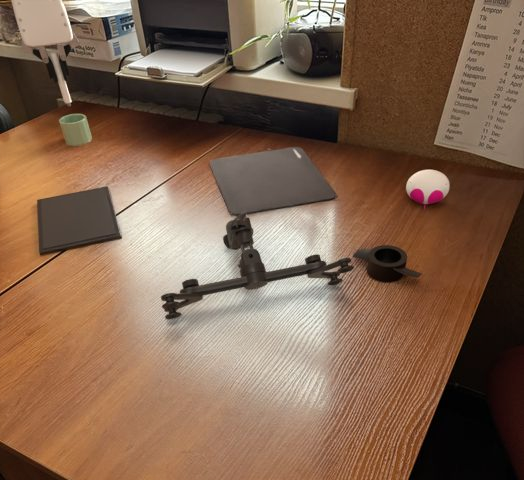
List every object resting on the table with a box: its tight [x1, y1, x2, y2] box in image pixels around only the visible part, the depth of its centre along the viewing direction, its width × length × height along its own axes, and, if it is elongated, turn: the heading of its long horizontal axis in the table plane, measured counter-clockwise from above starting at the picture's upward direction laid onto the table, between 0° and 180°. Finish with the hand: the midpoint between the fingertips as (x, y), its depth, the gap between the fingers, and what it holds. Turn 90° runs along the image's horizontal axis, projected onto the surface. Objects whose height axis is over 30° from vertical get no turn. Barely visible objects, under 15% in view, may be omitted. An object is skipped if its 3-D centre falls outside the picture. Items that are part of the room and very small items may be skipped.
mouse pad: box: [209, 146, 337, 216], centre depth 103 cm, size 25×21×1 cm
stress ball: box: [405, 169, 451, 210], centre depth 92 cm, size 8×8×7 cm
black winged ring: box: [352, 244, 422, 284], centre depth 78 cm, size 8×10×3 cm
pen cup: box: [58, 113, 93, 147], centre depth 119 cm, size 6×6×6 cm
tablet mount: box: [160, 213, 355, 320], centre depth 76 cm, size 27×14×17 cm
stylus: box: [48, 50, 73, 107], centre depth 111 cm, size 2×2×11 cm
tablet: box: [36, 185, 122, 257], centre depth 94 cm, size 20×14×1 cm
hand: (61, 79), depth 111 cm, fingers closed on stylus, 1 cm apart
